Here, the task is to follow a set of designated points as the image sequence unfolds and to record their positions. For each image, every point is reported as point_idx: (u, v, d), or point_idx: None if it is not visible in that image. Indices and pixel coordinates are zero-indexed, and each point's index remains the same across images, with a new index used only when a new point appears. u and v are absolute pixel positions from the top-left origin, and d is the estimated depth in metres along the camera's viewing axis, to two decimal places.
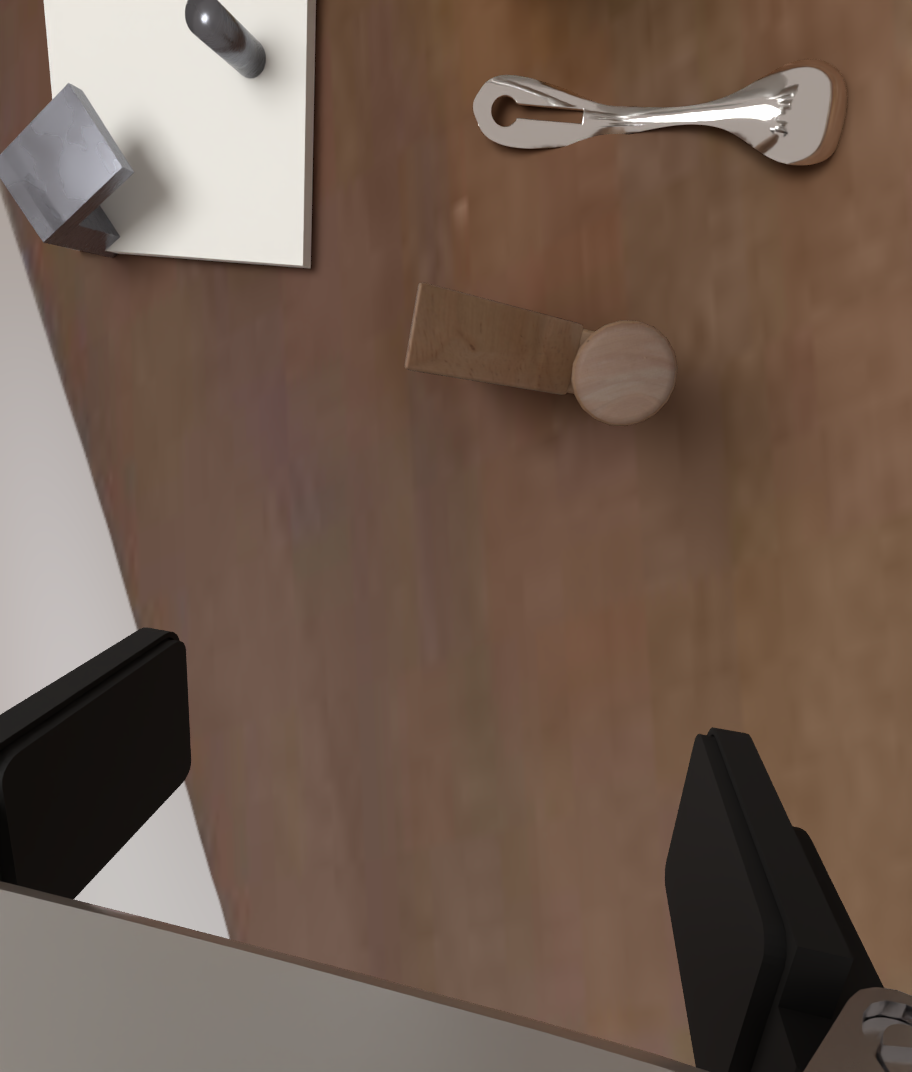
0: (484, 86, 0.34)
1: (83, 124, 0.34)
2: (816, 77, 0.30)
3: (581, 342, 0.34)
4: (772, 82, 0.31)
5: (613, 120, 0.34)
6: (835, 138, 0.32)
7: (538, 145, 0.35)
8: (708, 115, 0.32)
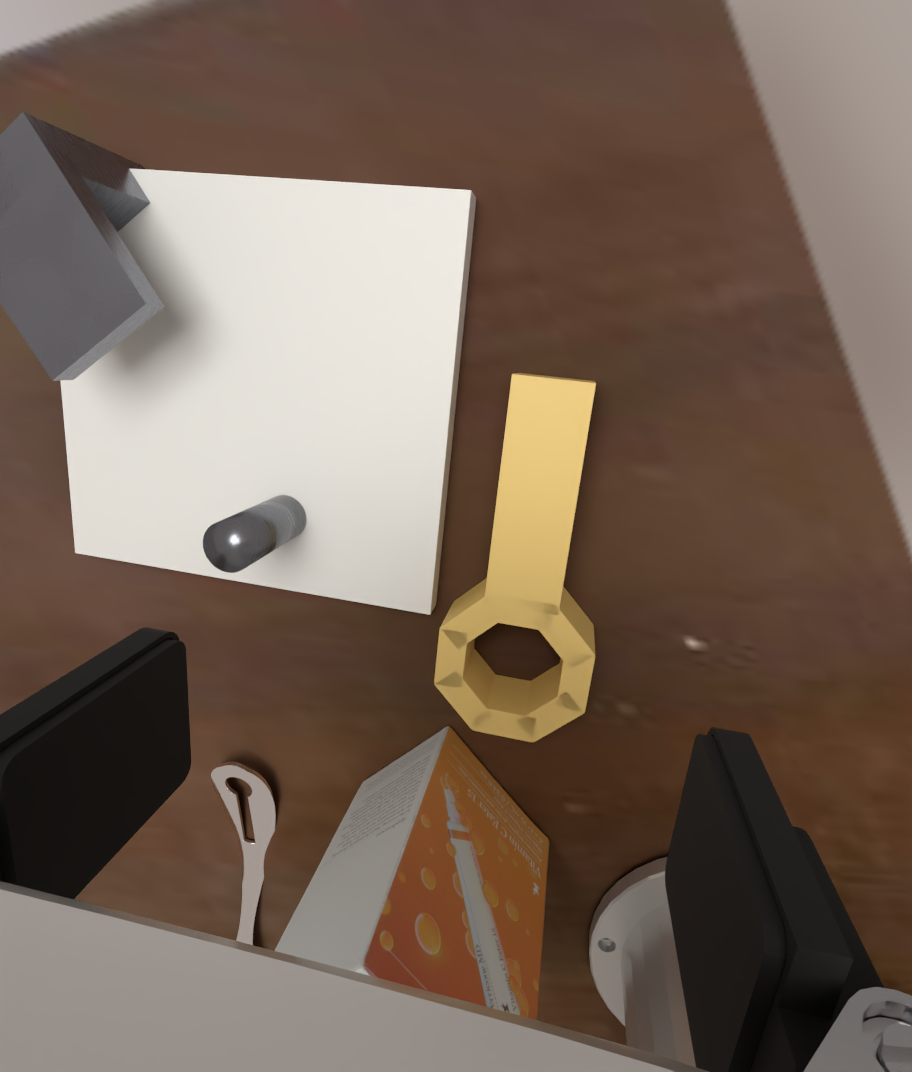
0: (253, 775, 0.31)
1: (96, 320, 0.22)
2: None
3: None
4: None
5: (248, 865, 0.35)
6: None
7: None
8: None
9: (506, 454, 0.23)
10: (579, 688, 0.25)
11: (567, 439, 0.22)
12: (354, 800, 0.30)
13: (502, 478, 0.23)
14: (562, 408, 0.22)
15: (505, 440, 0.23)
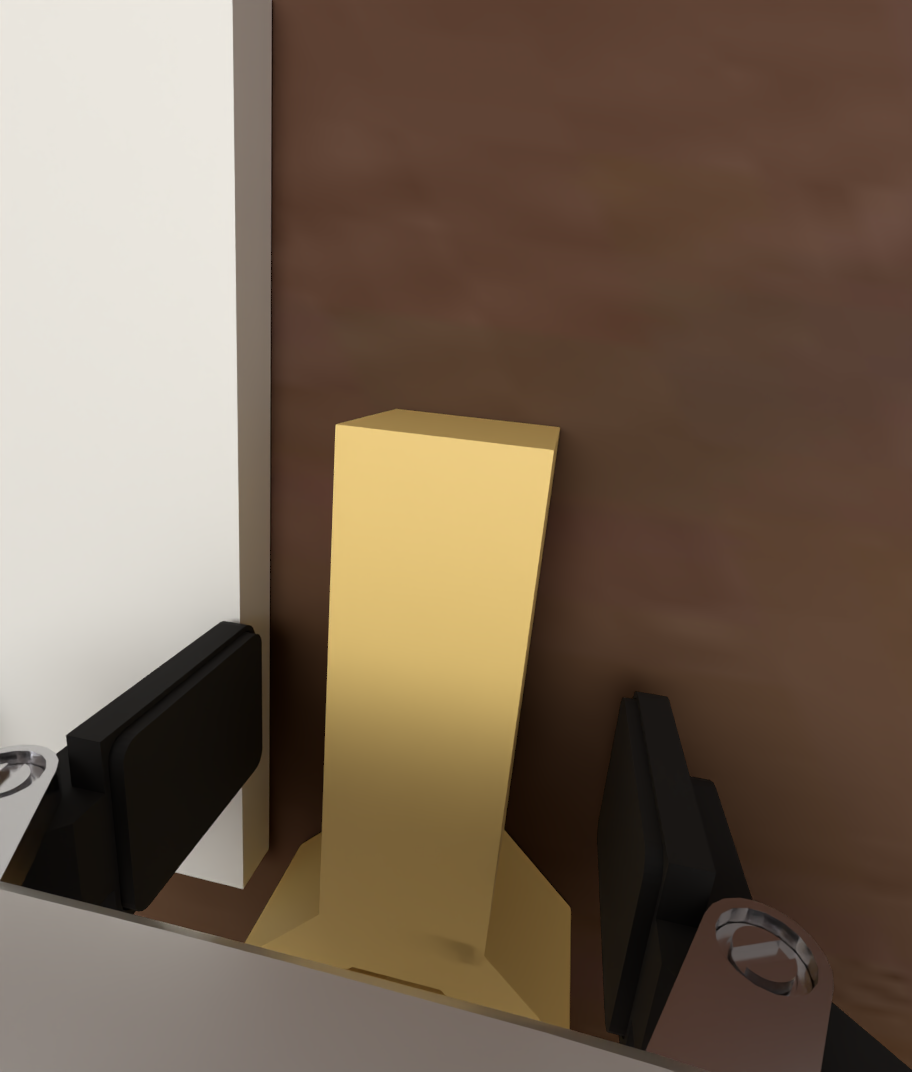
0: None
1: None
2: None
3: None
4: None
5: None
6: None
7: None
8: None
9: (338, 619, 0.09)
10: None
11: (483, 589, 0.09)
12: None
13: (334, 673, 0.09)
14: (468, 514, 0.08)
15: (333, 587, 0.09)
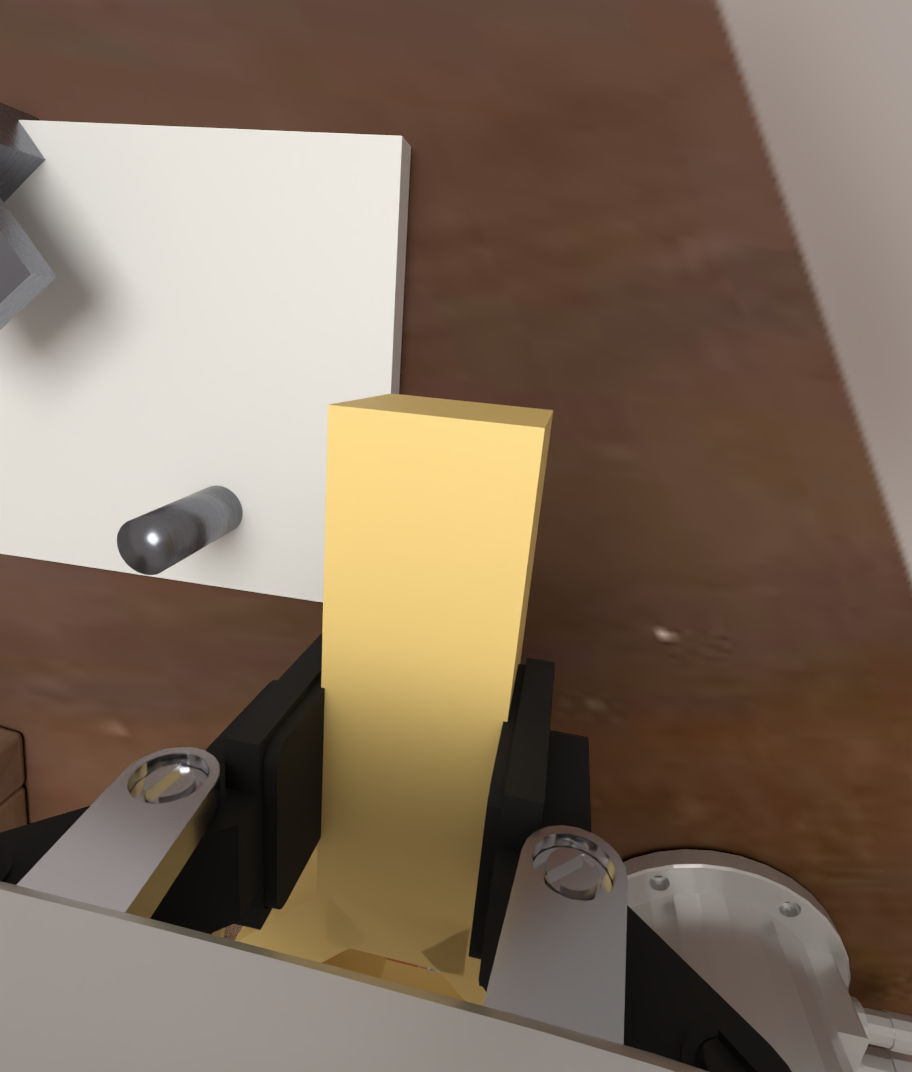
0: None
1: None
2: None
3: None
4: None
5: None
6: None
7: None
8: None
9: (333, 600, 0.09)
10: None
11: (476, 568, 0.09)
12: None
13: (329, 654, 0.10)
14: (459, 493, 0.08)
15: (327, 567, 0.09)
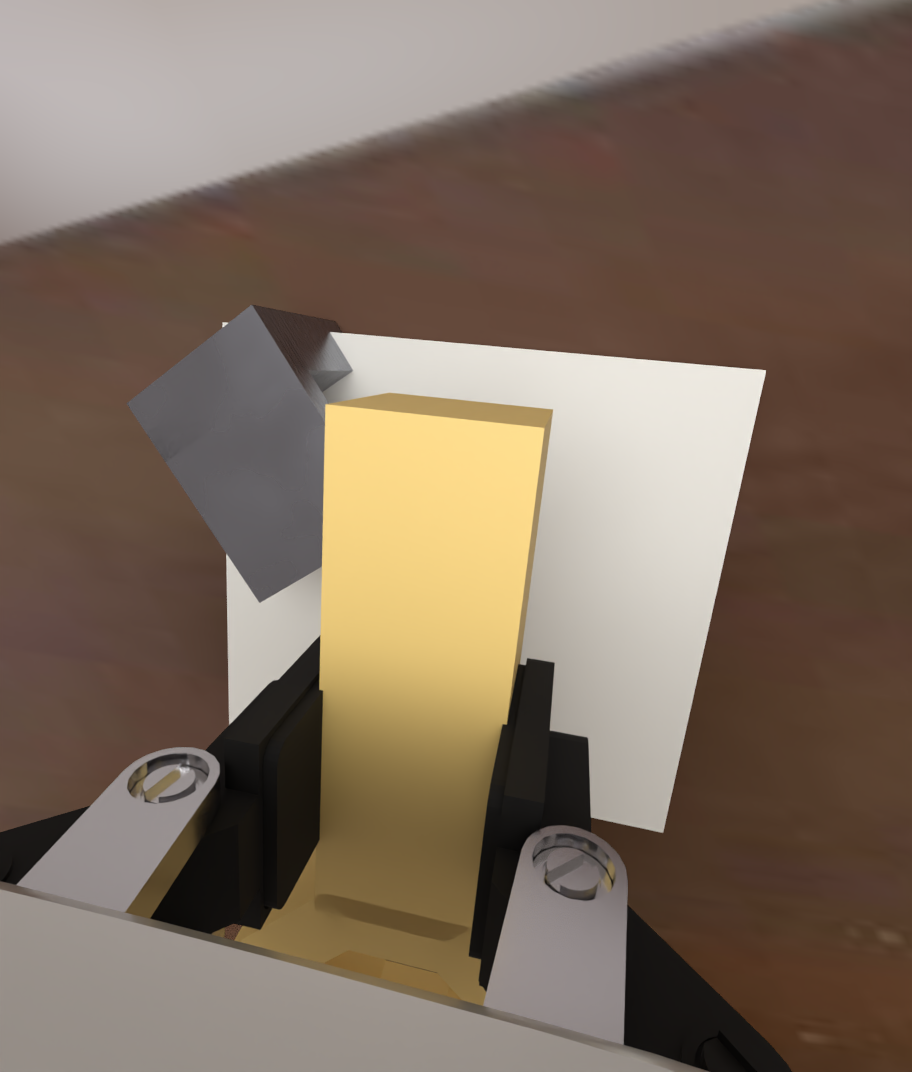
0: None
1: None
2: None
3: None
4: None
5: None
6: None
7: None
8: None
9: (330, 601, 0.09)
10: None
11: (475, 569, 0.09)
12: None
13: (327, 656, 0.09)
14: (458, 493, 0.08)
15: (325, 568, 0.09)
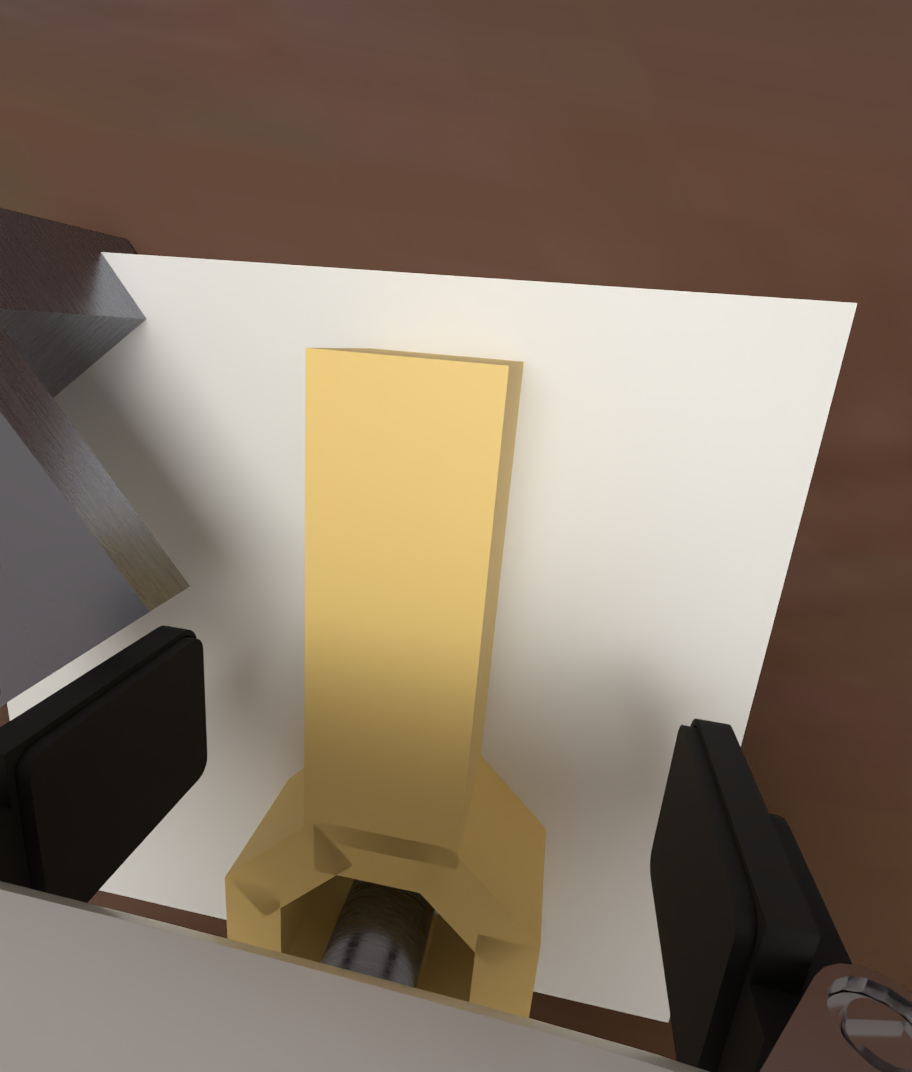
0: None
1: (34, 636, 0.09)
2: None
3: None
4: None
5: None
6: None
7: None
8: None
9: (314, 537, 0.10)
10: (511, 1002, 0.12)
11: (448, 503, 0.09)
12: None
13: (311, 590, 0.10)
14: (430, 430, 0.09)
15: (308, 506, 0.10)
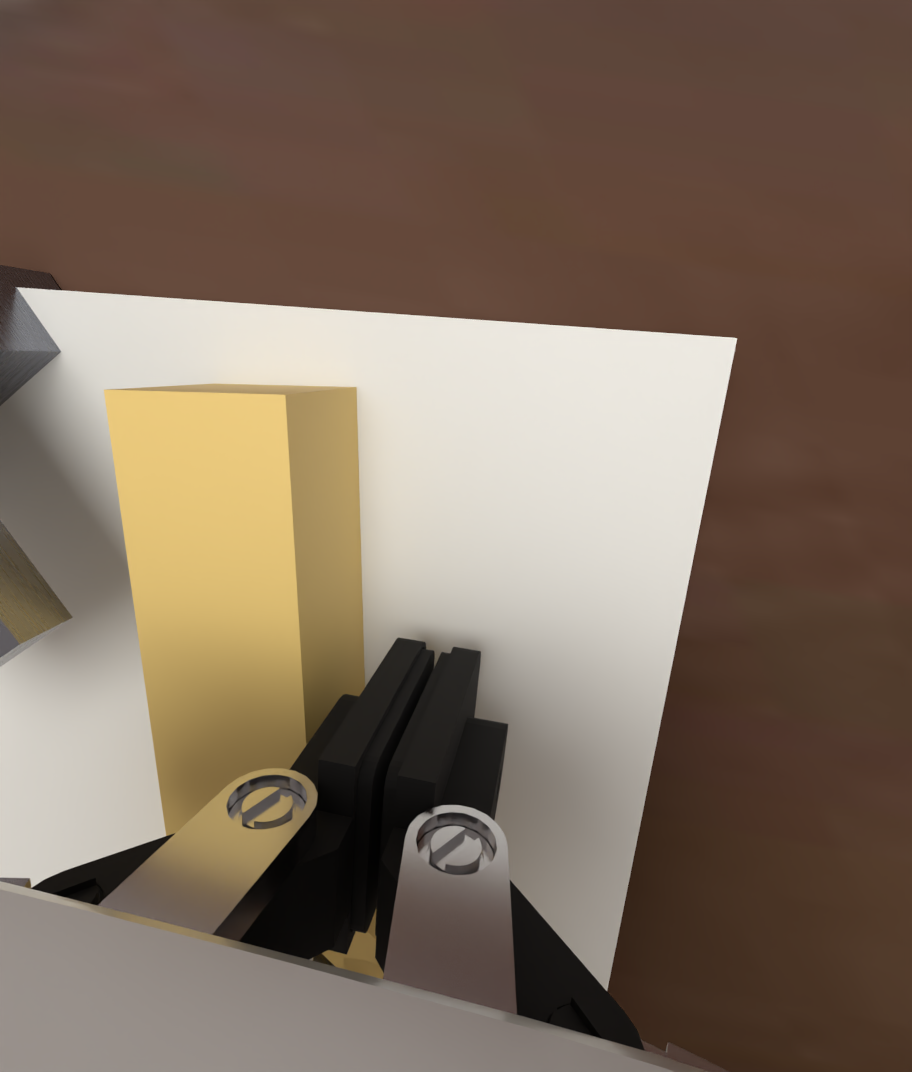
0: None
1: None
2: None
3: None
4: None
5: None
6: None
7: None
8: None
9: (136, 569, 0.10)
10: None
11: (251, 528, 0.10)
12: None
13: (141, 620, 0.10)
14: (225, 461, 0.09)
15: (127, 539, 0.10)
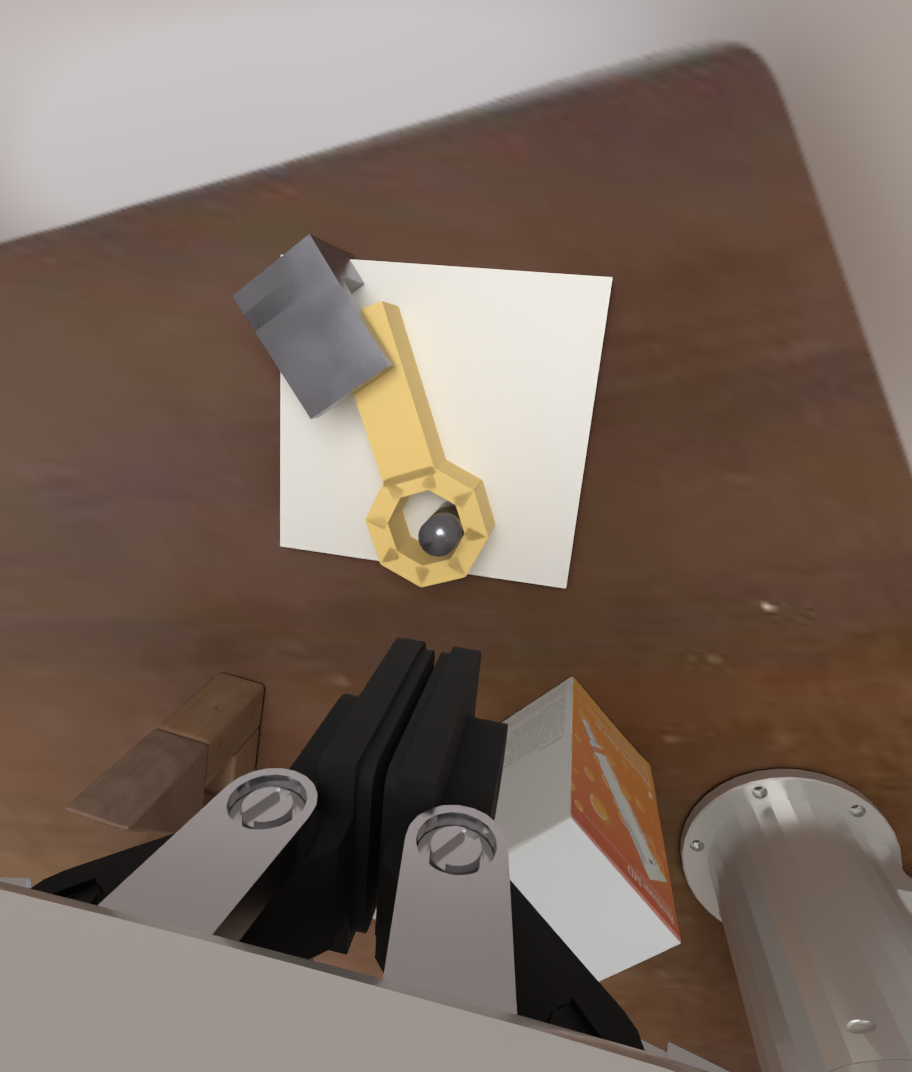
0: None
1: (349, 377, 0.30)
2: None
3: None
4: None
5: None
6: None
7: None
8: None
9: None
10: (475, 520, 0.33)
11: None
12: None
13: (355, 393, 0.32)
14: None
15: None
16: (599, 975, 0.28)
